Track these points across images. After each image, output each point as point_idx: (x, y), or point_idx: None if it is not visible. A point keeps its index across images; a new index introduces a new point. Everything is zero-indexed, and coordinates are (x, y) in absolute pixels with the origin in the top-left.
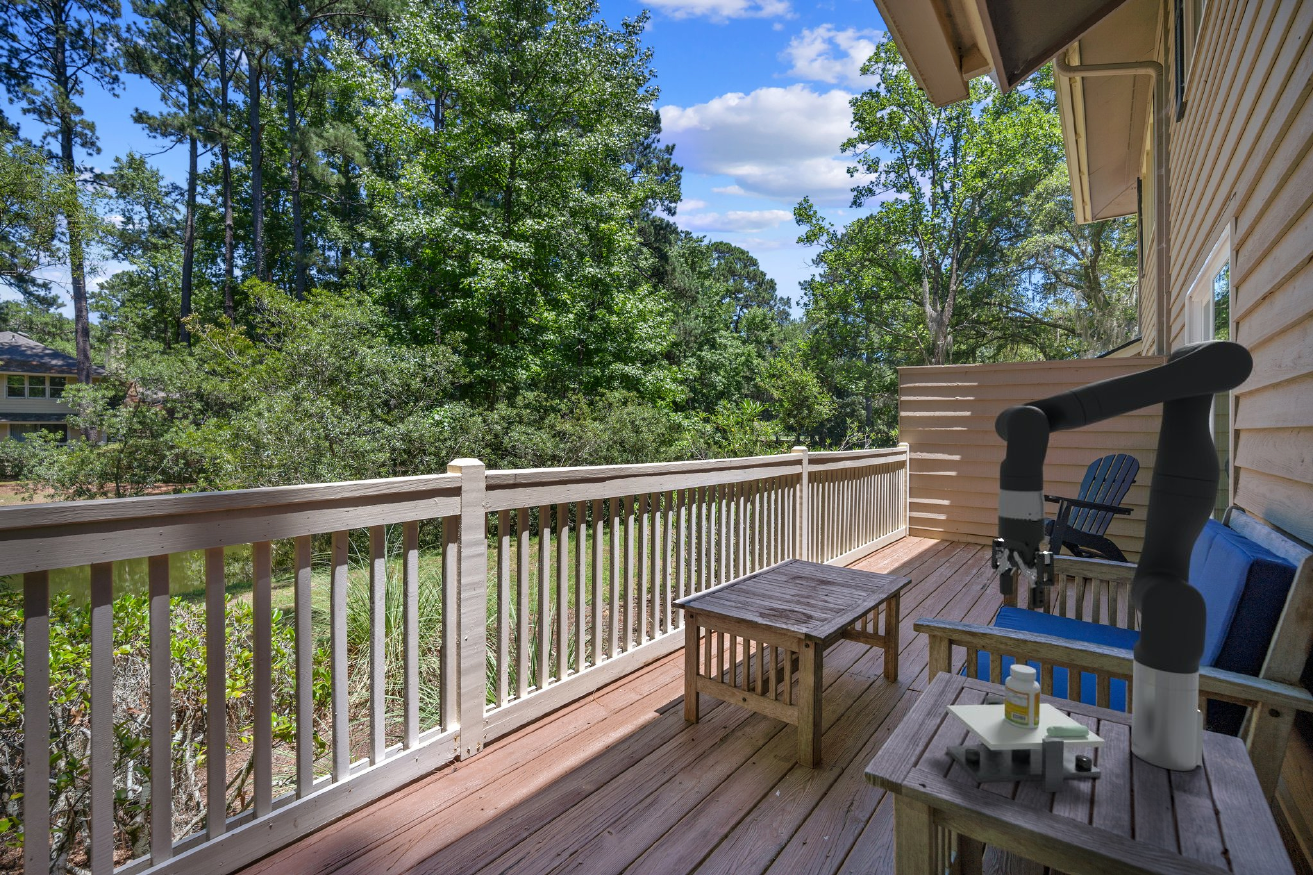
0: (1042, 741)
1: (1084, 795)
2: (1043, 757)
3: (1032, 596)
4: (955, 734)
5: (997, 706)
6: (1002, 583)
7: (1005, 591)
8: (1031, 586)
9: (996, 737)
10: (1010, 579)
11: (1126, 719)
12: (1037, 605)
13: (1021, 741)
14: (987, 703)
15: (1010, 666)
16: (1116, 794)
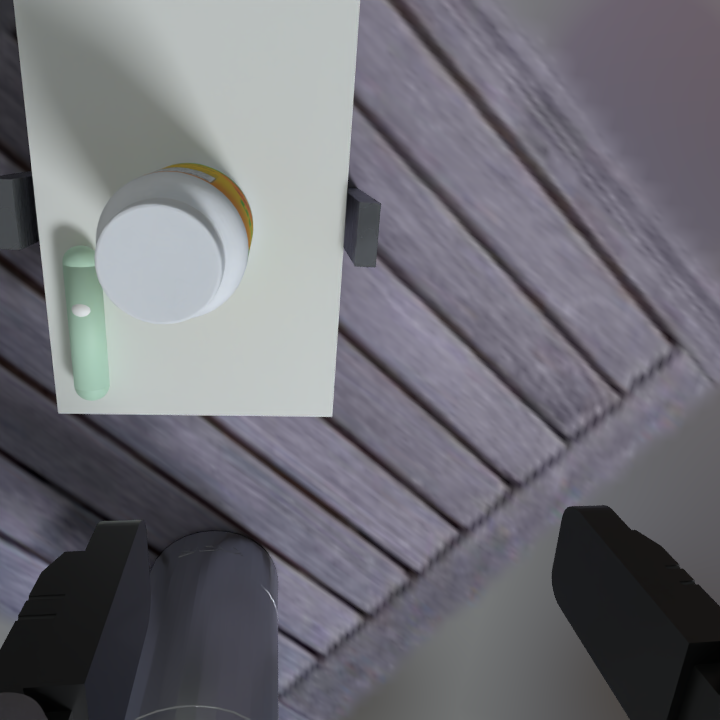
0: (16, 179)
1: (40, 269)
2: (28, 174)
3: (68, 598)
4: (405, 112)
5: (329, 219)
6: (628, 578)
7: (576, 548)
8: (23, 698)
9: (68, 22)
10: (635, 694)
11: (398, 630)
12: (61, 563)
13: (39, 110)
14: (363, 200)
15: (197, 219)
16: (47, 356)
